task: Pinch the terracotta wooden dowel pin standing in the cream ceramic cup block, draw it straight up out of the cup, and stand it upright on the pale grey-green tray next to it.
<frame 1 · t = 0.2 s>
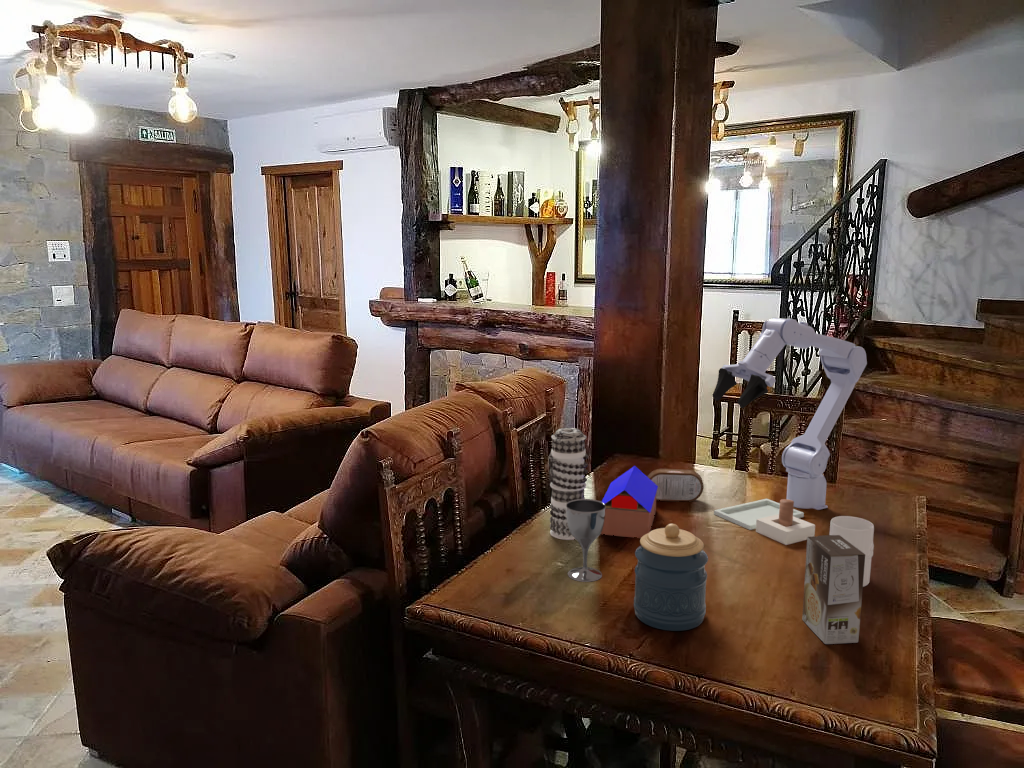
hand: (727, 401, 177), 31 cm above the table, tool tilted 45°, fingers open, 7 cm apart
decorative candle: (567, 533, 180), on the table
tray: (758, 519, 188), on the table
coffee box: (829, 631, 134), on the table
tin: (674, 501, 202), on the table
canister: (669, 616, 140), on the table
mug: (846, 575, 156), on the table
house: (628, 523, 187), on the table
wine glass: (584, 575, 157), on the table
cup block: (784, 538, 175), on the table
pin: (784, 534, 175), point 1 cm above the table, touching cup block
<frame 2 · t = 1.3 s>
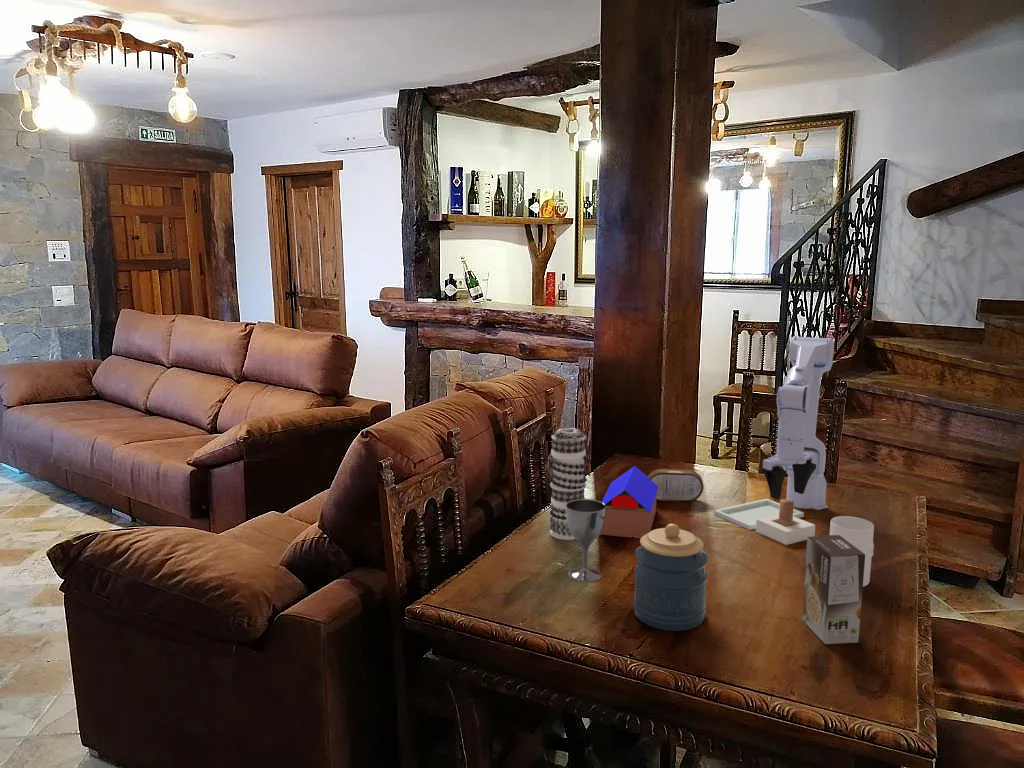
hand: (787, 495, 174), 10 cm above the table, tool pointing down, fingers open, 7 cm apart
nothing on the table moved.
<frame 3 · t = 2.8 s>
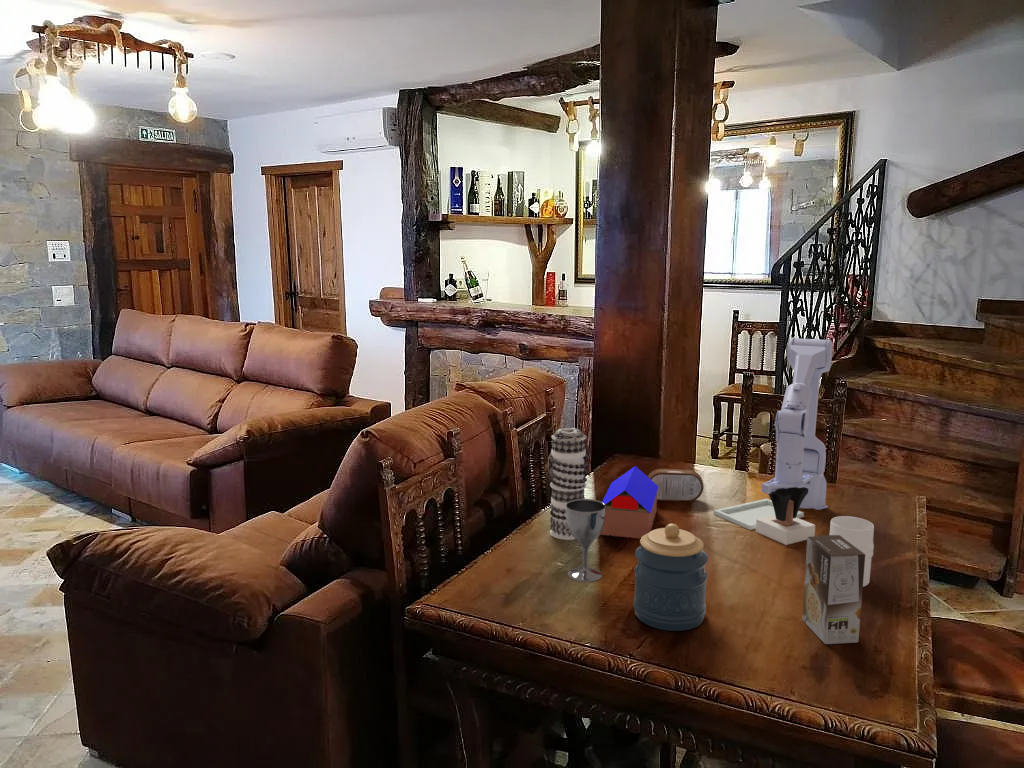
hand: (785, 518, 175), 5 cm above the table, tool pointing down, fingers closed on pin, 3 cm apart
pin: (784, 534, 175), point 1 cm above the table, touching cup block, gripper
everything else where it was.
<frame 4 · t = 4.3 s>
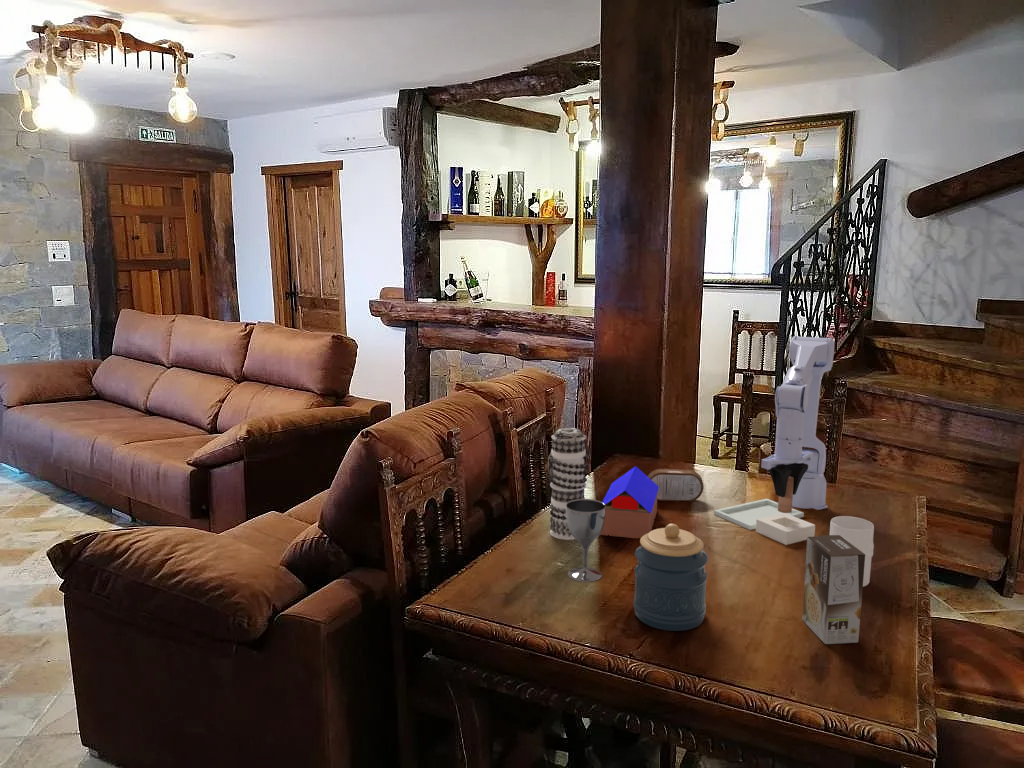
hand: (785, 494, 174), 10 cm above the table, tool pointing down, fingers closed on pin, 3 cm apart
pin: (784, 510, 175), point 6 cm above the table, touching gripper
everything else where it was.
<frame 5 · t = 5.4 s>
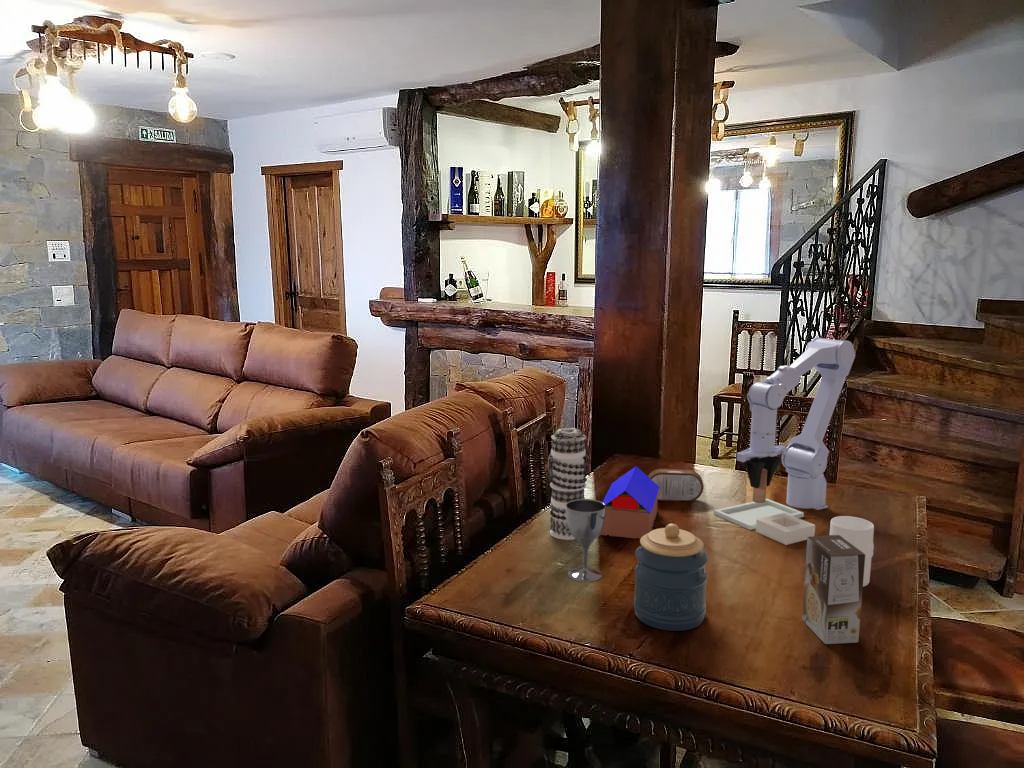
hand: (760, 486, 186), 9 cm above the table, tool pointing down, fingers closed on pin, 3 cm apart
pin: (759, 501, 187), point 5 cm above the table, touching gripper
everything else where it was.
when the fingers open (6 cm above the table, at t = 6.1 s): pin drops 1 cm, resting on tray.
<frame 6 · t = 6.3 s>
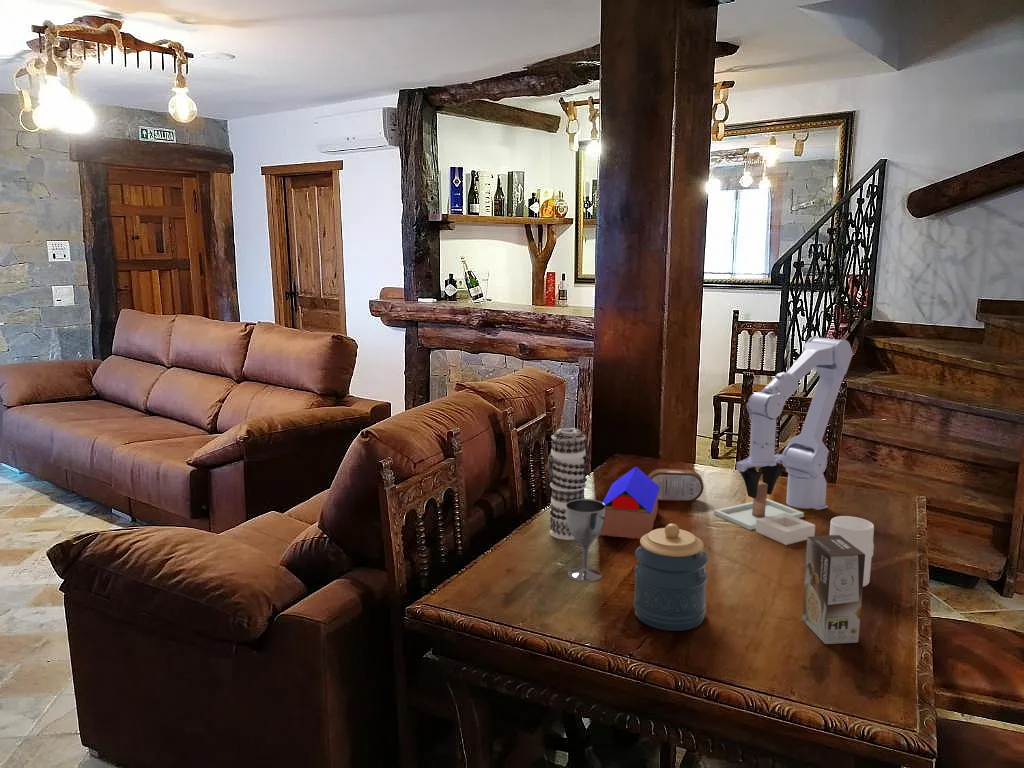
hand: (759, 495, 187), 6 cm above the table, tool pointing down, fingers open, 5 cm apart
pin: (758, 515, 188), point 1 cm above the table, touching tray
everything else where it was.
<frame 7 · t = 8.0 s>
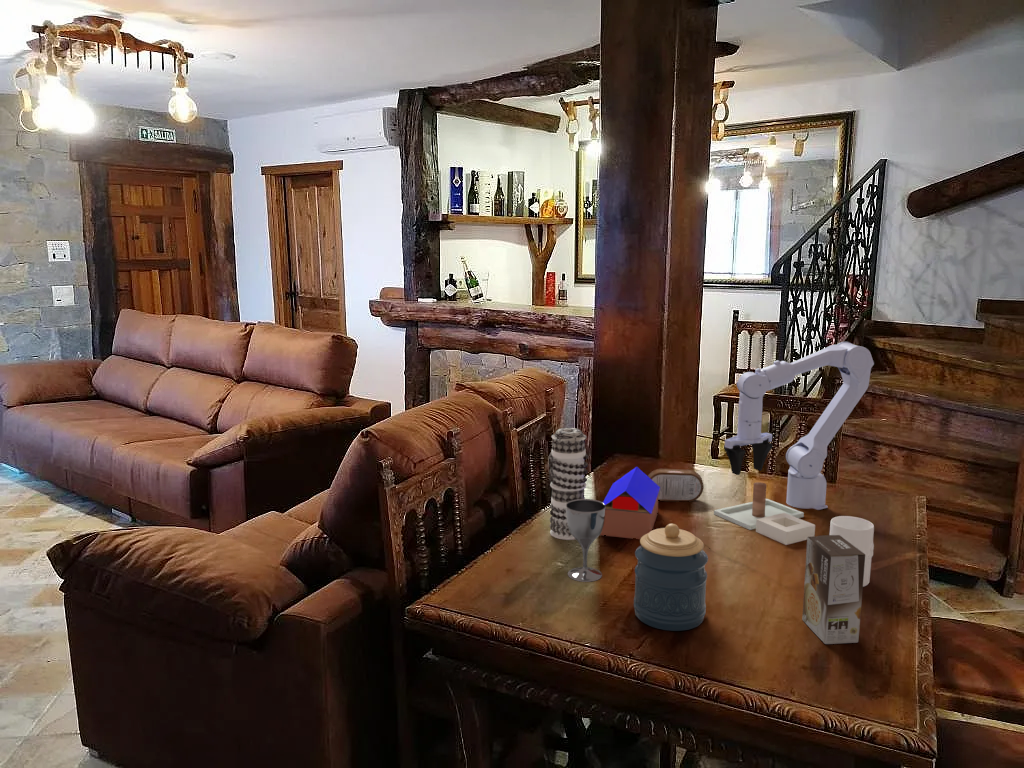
hand: (747, 471, 194), 10 cm above the table, tool pointing down, fingers open, 7 cm apart
nothing on the table moved.
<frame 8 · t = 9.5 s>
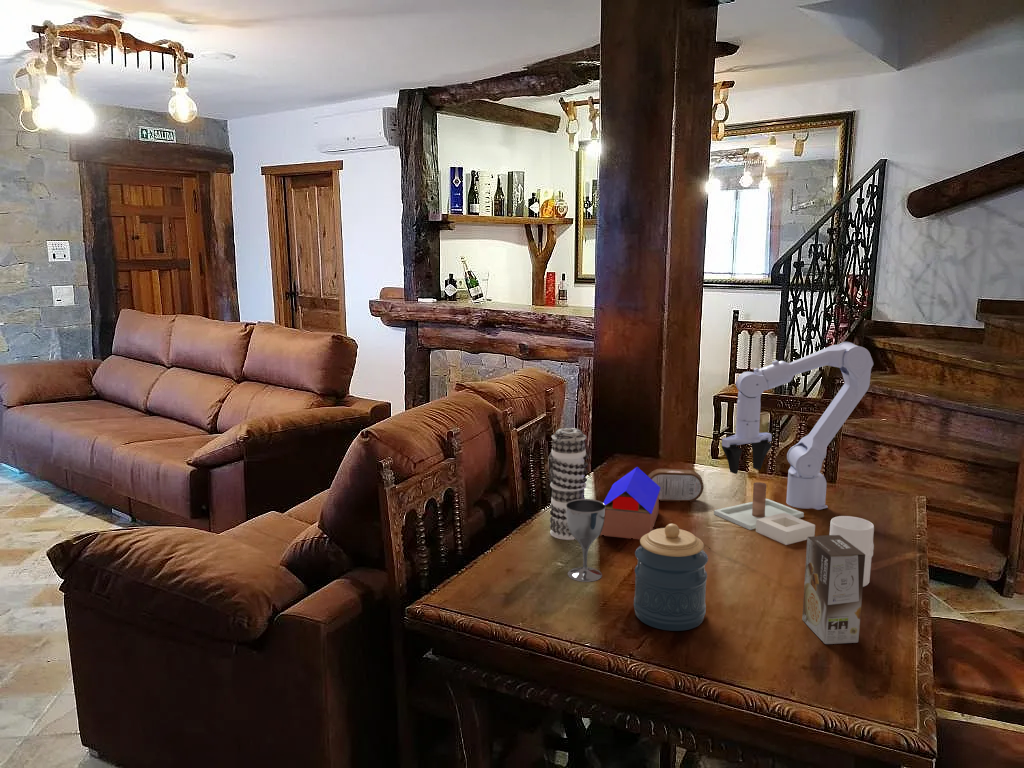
hand: (745, 470, 196), 9 cm above the table, tool pointing down, fingers open, 7 cm apart
nothing on the table moved.
at the end: pin inside the target area on the tray (0.0 cm from its centre), point 1.0 cm above the tray's base; pin tilted 0°; the gripper is holding nothing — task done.
